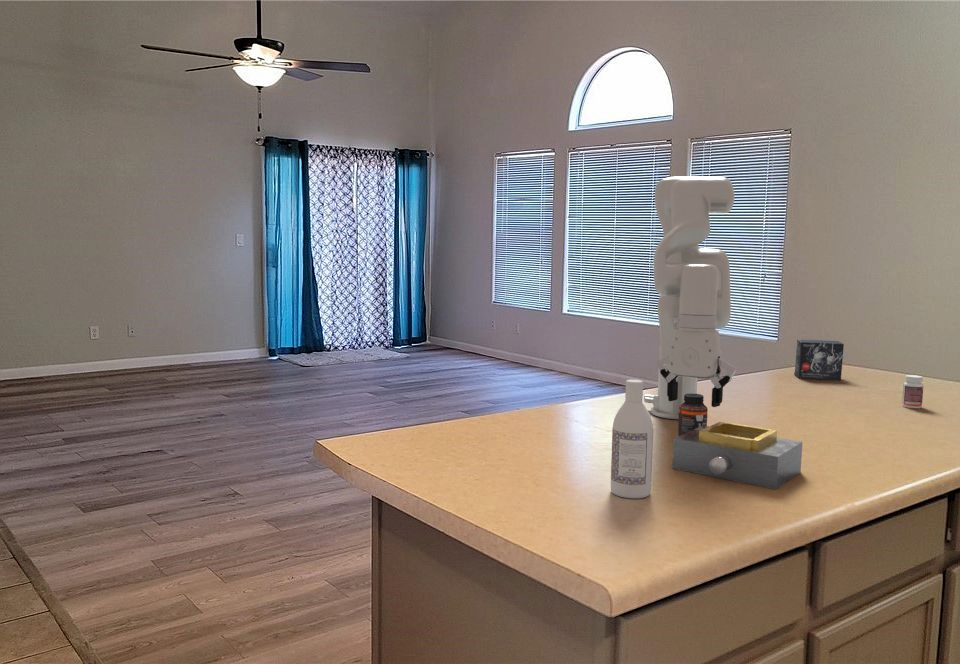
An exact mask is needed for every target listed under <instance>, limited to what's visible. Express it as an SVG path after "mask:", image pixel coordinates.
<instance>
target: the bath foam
mask: <svg viewBox="0 0 960 664" xmlns="http://www.w3.org/2000/svg"><path fill="white" fill-rule="evenodd" d="M643 395H644V381H643V380H642V379H641V380H640V379H626V381H625V396H624V397H625V399H624V400H625V401H624V402H623V403H622V404H621V406H620V407H619V409H618V410H617V412H616V414H615V416H614V419H613V423H612V429H611V430H612V432H611V433H612V434H611V435H612V437H611V438H612V439H611V459H610V460H611V461H610V463H611V465H610V492H611V493H612V494H613V495H615V496H617V497H621V498H624V499H633V500H634V499H643V498H647V497H648V496H649V495H651V493H652V491H651V490H652V473H653V468H652V467H653V446H654V444H653V443H654V423H653V420H652V417H651V413H650V412H649V411H648V409H647V406H646V405H645V403H644V402H643V399H644V397H643Z"/></svg>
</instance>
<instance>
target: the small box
mask: <svg viewBox="0 0 960 664" xmlns="http://www.w3.org/2000/svg"><path fill="white" fill-rule="evenodd" d="M844 346H845V345H844V343H843V342H841V341H839V340H822V339H819V340H818V339H801V338H800V339H799V338H798V339H796V351H795V363H794V373H793V375H795V376H796V377H797V378H798V379H802V380H803V379H804V380H806V379H807V380H825V381H826V380H830V381H841V380H842V371H843V370H842V369H843V358H844V349H845V348H844Z"/></svg>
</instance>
